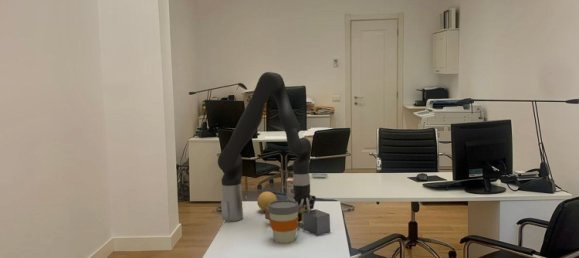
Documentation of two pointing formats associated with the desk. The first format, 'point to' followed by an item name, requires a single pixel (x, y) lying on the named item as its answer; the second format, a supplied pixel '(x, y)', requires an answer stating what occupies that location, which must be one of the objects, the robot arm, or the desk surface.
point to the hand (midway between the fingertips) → (303, 220)
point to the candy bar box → (290, 189)
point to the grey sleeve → (316, 222)
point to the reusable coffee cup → (284, 220)
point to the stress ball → (265, 200)
